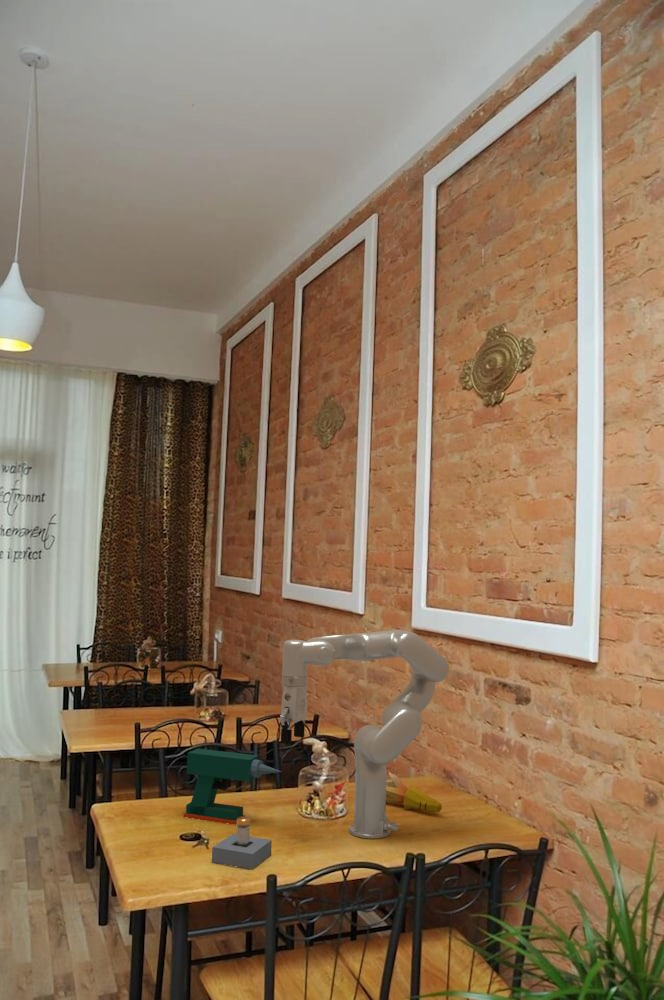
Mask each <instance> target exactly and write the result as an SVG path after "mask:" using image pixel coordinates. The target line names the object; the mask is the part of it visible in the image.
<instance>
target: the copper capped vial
mask: <svg viewBox="0 0 664 1000" xmlns="http://www.w3.org/2000/svg"><path fill="white" fill-rule="evenodd" d="M251 821H252V819H251V817H249V816H246V815H245V816H243V817H238V818H237V825H236V826H237V827H236V834H237V846H241V847H248V846H249V836H250V830H251V829H250V828H251V827H250V826H251V824H252V823H251Z"/></svg>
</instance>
